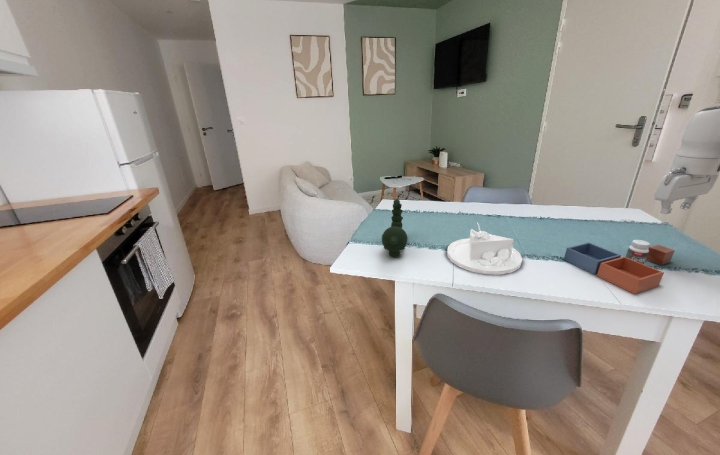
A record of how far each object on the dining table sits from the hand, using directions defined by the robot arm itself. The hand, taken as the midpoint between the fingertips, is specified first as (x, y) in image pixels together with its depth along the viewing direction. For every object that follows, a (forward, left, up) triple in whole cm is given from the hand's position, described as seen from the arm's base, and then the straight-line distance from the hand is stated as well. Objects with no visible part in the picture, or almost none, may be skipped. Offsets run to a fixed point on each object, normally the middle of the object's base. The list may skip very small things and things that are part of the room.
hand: (674, 211), depth 89 cm
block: (0, -1, -18) cm, 18 cm away
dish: (+25, +48, -18) cm, 57 cm away
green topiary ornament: (+43, +74, -18) cm, 88 cm away
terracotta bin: (-4, +20, -18) cm, 27 cm away
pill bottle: (+1, +9, -18) cm, 20 cm away
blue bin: (+7, +20, -18) cm, 28 cm away
